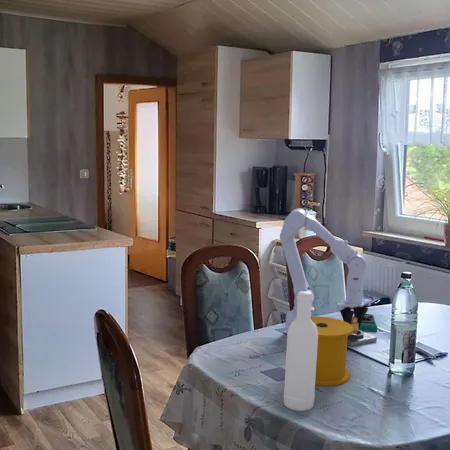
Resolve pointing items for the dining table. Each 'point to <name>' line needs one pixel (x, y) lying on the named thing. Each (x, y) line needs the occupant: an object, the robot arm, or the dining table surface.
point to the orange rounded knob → (354, 324)
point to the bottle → (301, 357)
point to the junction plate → (360, 338)
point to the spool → (331, 350)
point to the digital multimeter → (368, 323)
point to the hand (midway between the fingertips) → (352, 327)
